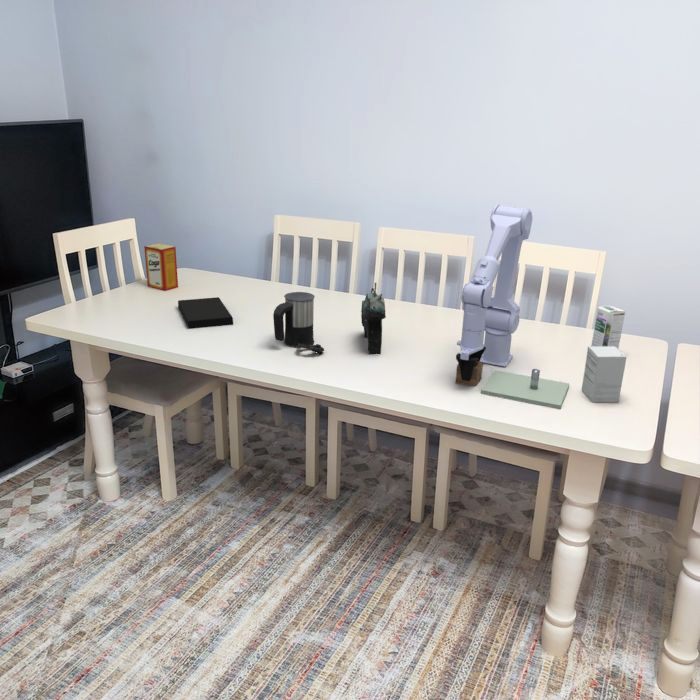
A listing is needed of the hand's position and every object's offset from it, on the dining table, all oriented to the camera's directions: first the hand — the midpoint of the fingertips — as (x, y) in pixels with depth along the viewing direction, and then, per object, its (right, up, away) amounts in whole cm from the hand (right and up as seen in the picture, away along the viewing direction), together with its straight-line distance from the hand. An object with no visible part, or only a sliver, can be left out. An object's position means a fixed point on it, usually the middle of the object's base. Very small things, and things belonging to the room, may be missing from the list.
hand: (469, 376), depth 184 cm
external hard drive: (-81, +18, +46) cm, 95 cm away
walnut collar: (0, -1, +1) cm, 1 cm away
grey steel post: (+16, -4, -5) cm, 17 cm away
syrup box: (+44, +5, +21) cm, 49 cm away
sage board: (+14, -4, -4) cm, 15 cm away
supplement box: (+32, -5, -7) cm, 34 cm away
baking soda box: (-103, +31, +77) cm, 132 cm away
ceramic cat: (-26, +8, +25) cm, 36 cm away
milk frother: (-45, +8, +22) cm, 51 cm away
